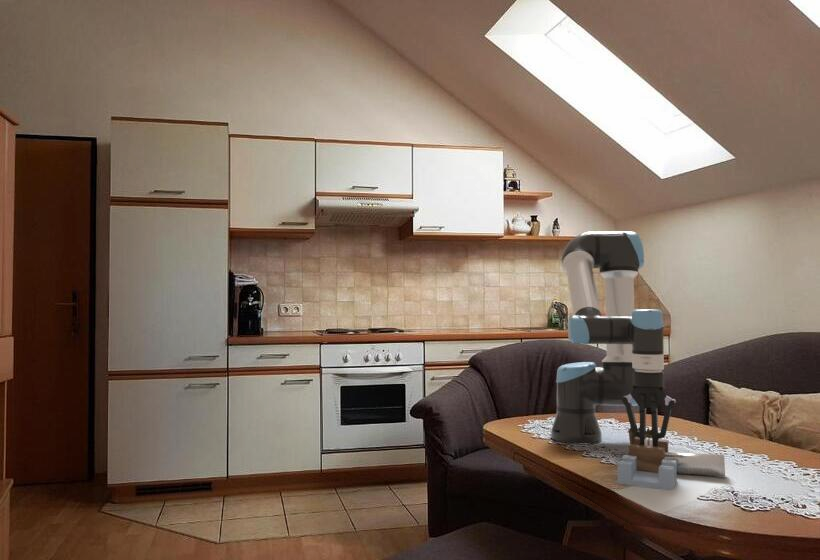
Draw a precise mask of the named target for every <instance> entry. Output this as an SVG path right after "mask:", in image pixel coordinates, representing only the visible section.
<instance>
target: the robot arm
mask: <svg viewBox="0 0 820 560" xmlns="http://www.w3.org/2000/svg"><path fill="white" fill-rule="evenodd" d="M644 259H645V251H644V246H643V243H642V239H641V237H640V236H639V234H638V233H637V232H635V231H624V230H614V231H613V230H611V231H610V230H609V231H585V232H582V233H580V234H578V235H576V236H575V237H573V238H571V240H570V241H568V243H567V244H566V246H565V248H564V250H563V252H562V255H561V265H562V269H563V271H564V272H565V274H566V275H567V282H568V289H569V295H570V296H569V297H570V301H571V307H572V313H573V314H572V315H571V316H569V317H568V319H567V336H568V340H569V342H570V343H573V344H582V345H595V344H596V345H603V344H604V345H606V356H605V357H604V358H603V359H602V360H601V366H597V365H596V362H594V361H582V362H571V363H565V364H562V365H560V366H559V367H558V368H557V370H556V371H557V372H556V380H555V382H556V414H555V418H554V420H553V423H552V427H551V430H550V437H551V439H552V440H554V441H557V442H561V443H566V444H567V443H568V444H574V443H590V444H595V443H594V442H597V443H599V441H600V442H602V440H603V439H602V431H601V427H600V424H599V421H598V418H597V415H596V406H612V407H613V406H616V407H617V406H619V407H621V406H622V407H623V406H624V407H625V410H626V414H627V418H628V421H629V426H630V427H629V428H631V431H632V434H633V435H634V436H637V437H639V438H640V445H646V446H656V447H658V439H664V438H665V437H666V435H667V430H668V426H669V423H670V417H671V413H672V409H673V407H674V406H675V404H676V402H677V401H676V399H675V398H672V397H671V396H668V395H667V392H666V390H665V373H664V372H663V371H662V370H665V357H664V356H665V354H664V353H665V352H664V350H665V349H664V326H665V321H664V316H663V312H662V310H661V309H649V308H648V309H644V308H643V309H642V308H641V309H635V289H634V288H635V285H634V279H635V278H636V277H637V276H638V275H639V270H640V269H642V268H643V267H644V264H645V260H644ZM593 269H598V270H599V275H600V276H601V277H602V278H603V280H604V290H605V291H604V295H605V296H604V297H605V298H604V299H605V300H604V301H605V302H604V303H605V315H602V310H601V309H602V308H601V305H600V299H599V294H598V291H597V285H596V282H595V281H596V280H595V276H594V272H593ZM663 401H664V405H665V406H666V407H665V411H664V414H663V415H664V416H663V419H662V423H661V427H660V431H659V422H658V421H659V419H658V407H660V406H661V404H662V403H663ZM634 406H635V407H637V406H638V407H639V427H640V431H638V428H639V427H638V424H637V421H636V417H635V413H634V412H635V411H634V408H633V407H634ZM647 408H649V409H650V415H651V418H650V419H651V429H652V438H650V439H649V438H646V431H647Z"/></svg>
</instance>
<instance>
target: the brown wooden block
mask: <svg viewBox="0 0 820 560" xmlns="http://www.w3.org/2000/svg"><path fill="white" fill-rule="evenodd" d="M649 439H650V438H649ZM665 452H669V439H664V438H660V439H658V447H656V446H646V445H640V438H639V437H635V438H634V444H630V443H629V445H628V455H630V456H637V471H643V472H652V473H659V466H660V465H662V460H663V459H665Z"/></svg>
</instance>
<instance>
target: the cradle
mask: <svg viewBox="0 0 820 560" xmlns="http://www.w3.org/2000/svg"><path fill="white" fill-rule="evenodd" d="M677 475H678V474H677V473H676V460H667V459H663V460H662V465H660V466H659V473H652V472H643V471H637V456H630V455H629V454H623V456H622V457H621V460H618V462H617V484H618V485H624V484H625V485H626V486H627V485H628V486H633V485H635V486H634V487H642V486H644V487H643V488H651V489H652V488H654V489H662V490H669V491H670V490H672V491H673V490H674V488H675V484H676V483H677V480H678V479H677V478H678V477H677Z"/></svg>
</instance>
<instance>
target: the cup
mask: <svg viewBox="0 0 820 560" xmlns="http://www.w3.org/2000/svg"><path fill="white" fill-rule="evenodd" d="M637 428H638V431H640V426H639V427H637ZM627 431H628V439H629V445H630V444H634V438H635V437H637V436H634V435H633V434H632V431H631V427H629V428H628V429H627ZM646 438H652V428H651V429H650V428H649V427H648V428H646Z"/></svg>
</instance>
